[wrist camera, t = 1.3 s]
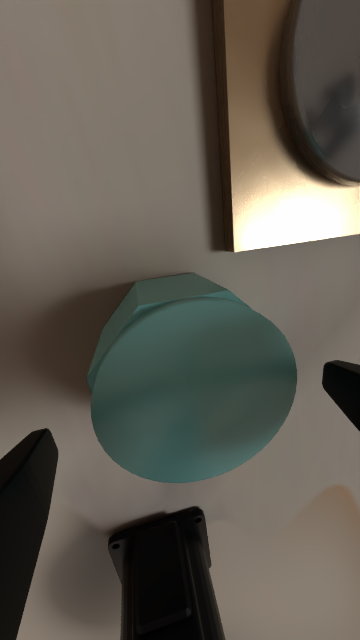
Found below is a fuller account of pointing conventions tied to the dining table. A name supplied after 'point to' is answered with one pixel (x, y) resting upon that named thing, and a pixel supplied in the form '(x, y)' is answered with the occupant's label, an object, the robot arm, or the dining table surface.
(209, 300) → the cap
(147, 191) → the dining table surface
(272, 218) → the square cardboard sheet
